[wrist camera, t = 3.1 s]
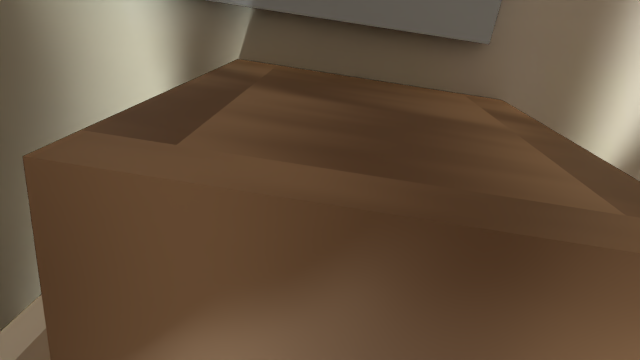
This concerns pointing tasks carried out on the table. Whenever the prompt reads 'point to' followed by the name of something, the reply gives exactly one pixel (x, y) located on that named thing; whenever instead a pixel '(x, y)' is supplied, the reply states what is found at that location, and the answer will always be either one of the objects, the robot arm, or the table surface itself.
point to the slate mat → (398, 14)
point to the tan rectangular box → (331, 228)
